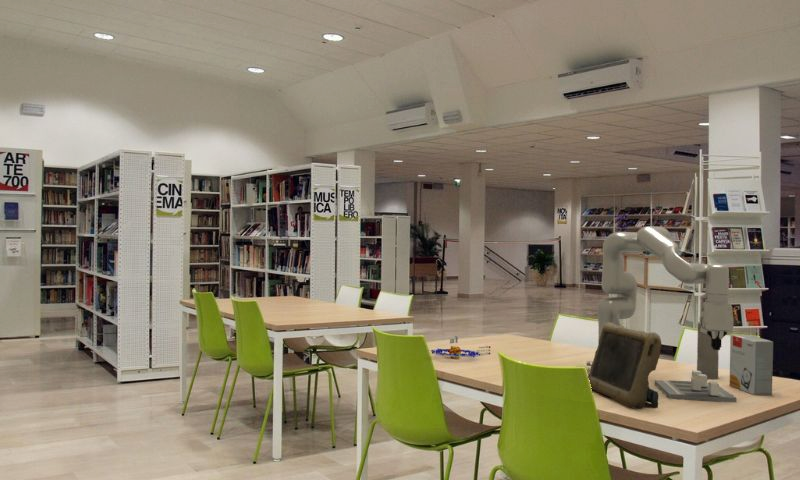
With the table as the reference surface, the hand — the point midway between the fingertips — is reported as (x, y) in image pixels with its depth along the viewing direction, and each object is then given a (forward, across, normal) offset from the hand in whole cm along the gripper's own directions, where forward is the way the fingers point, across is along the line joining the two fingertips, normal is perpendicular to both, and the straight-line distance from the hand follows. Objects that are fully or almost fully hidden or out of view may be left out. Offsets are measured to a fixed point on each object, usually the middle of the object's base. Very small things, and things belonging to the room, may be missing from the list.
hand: (716, 349), depth 236 cm
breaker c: (+15, -3, +7) cm, 17 cm away
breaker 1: (+15, -3, +14) cm, 21 cm away
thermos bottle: (+17, +7, +36) cm, 40 cm away
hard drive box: (+17, +16, +14) cm, 27 cm away
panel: (+17, -7, +4) cm, 18 cm away
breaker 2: (+15, -3, -7) cm, 17 cm away
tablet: (+17, -34, -11) cm, 40 cm away
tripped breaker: (+15, -7, 0) cm, 16 cm away
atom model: (+17, -95, +54) cm, 110 cm away
